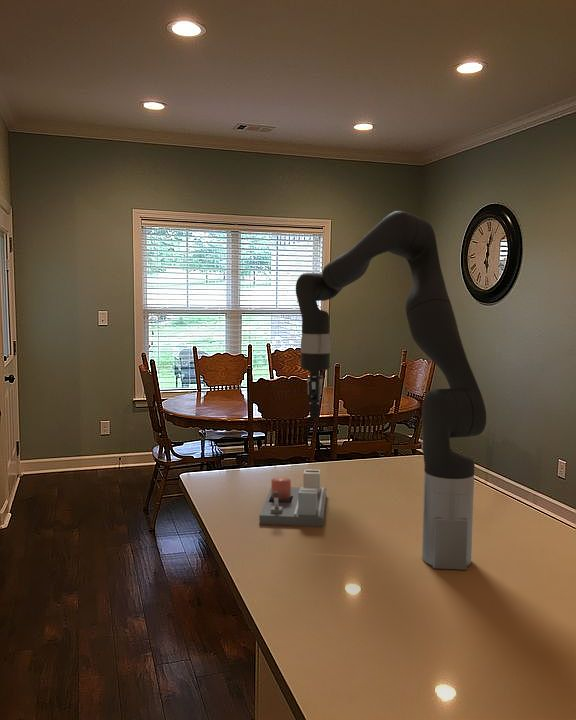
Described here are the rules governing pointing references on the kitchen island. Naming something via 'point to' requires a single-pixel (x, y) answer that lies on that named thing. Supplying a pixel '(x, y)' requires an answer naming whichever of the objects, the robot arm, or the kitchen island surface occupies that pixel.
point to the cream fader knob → (312, 479)
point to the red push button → (281, 488)
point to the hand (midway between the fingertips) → (314, 416)
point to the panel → (291, 510)
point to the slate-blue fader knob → (307, 501)
